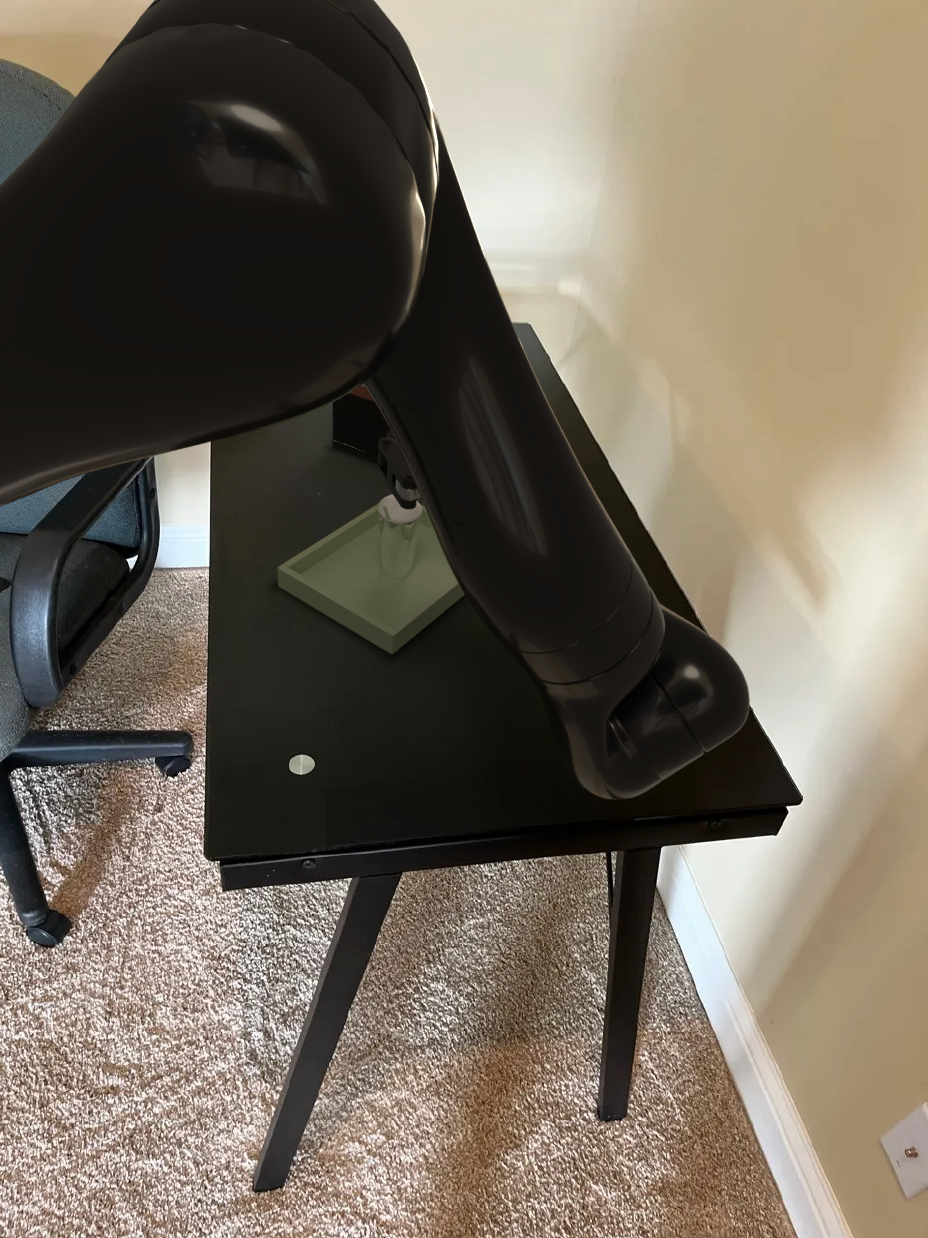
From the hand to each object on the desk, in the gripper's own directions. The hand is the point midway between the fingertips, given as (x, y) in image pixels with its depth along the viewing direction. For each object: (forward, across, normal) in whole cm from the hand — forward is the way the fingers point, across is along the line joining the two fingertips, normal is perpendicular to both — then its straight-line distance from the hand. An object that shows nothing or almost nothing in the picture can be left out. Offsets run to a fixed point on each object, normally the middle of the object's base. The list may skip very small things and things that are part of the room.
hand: (446, 415), depth 66 cm
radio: (+34, -6, +26) cm, 43 cm away
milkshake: (+11, 0, +25) cm, 27 cm away
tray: (+11, 0, +26) cm, 28 cm away
